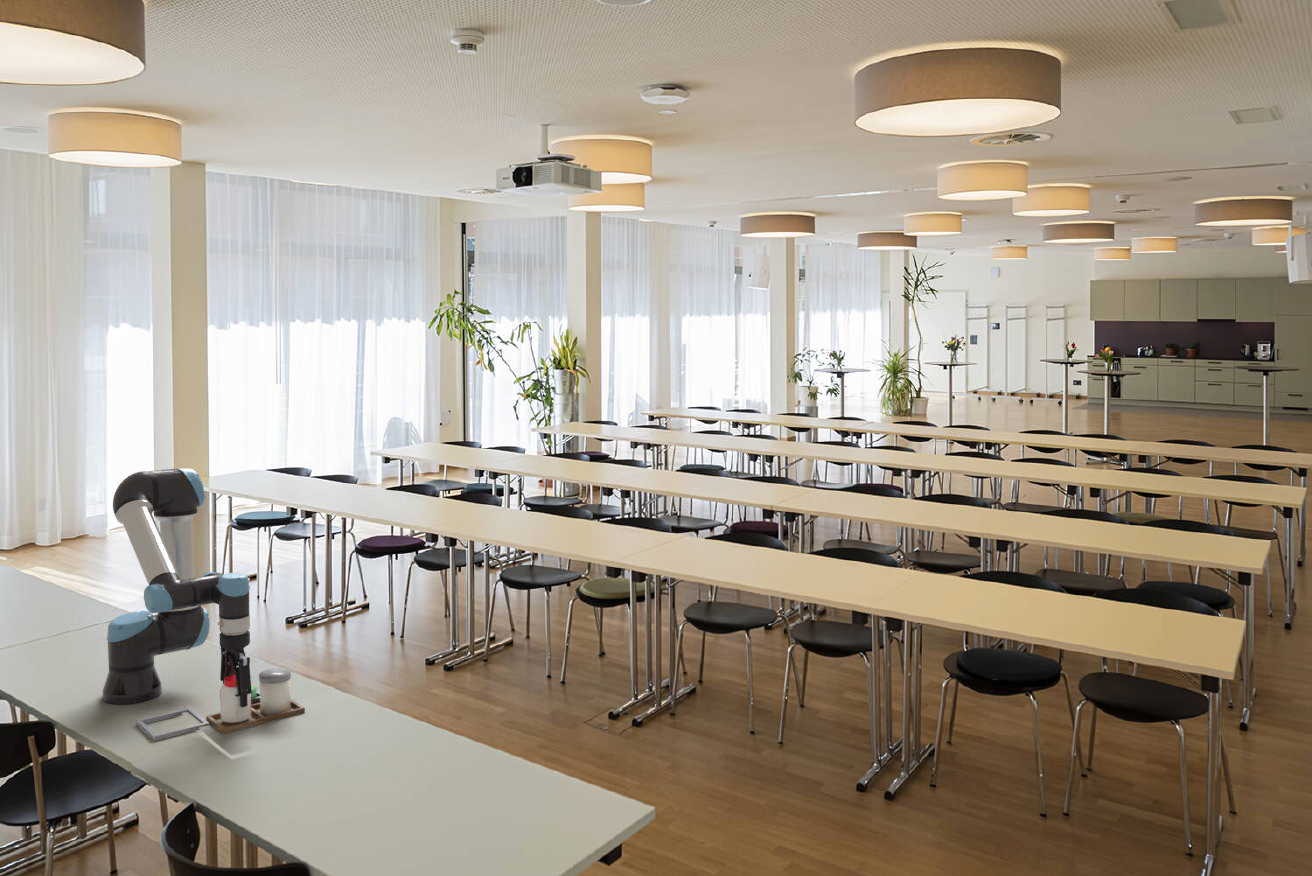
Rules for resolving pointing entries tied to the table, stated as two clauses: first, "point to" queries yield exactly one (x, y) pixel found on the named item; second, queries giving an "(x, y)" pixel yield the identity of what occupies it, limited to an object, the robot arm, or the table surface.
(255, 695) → the button
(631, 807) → the table surface
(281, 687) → the seated part
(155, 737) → the tray
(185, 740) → the table surface
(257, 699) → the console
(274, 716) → the brown divided tray
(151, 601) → the robot arm
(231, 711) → the pill bottle
